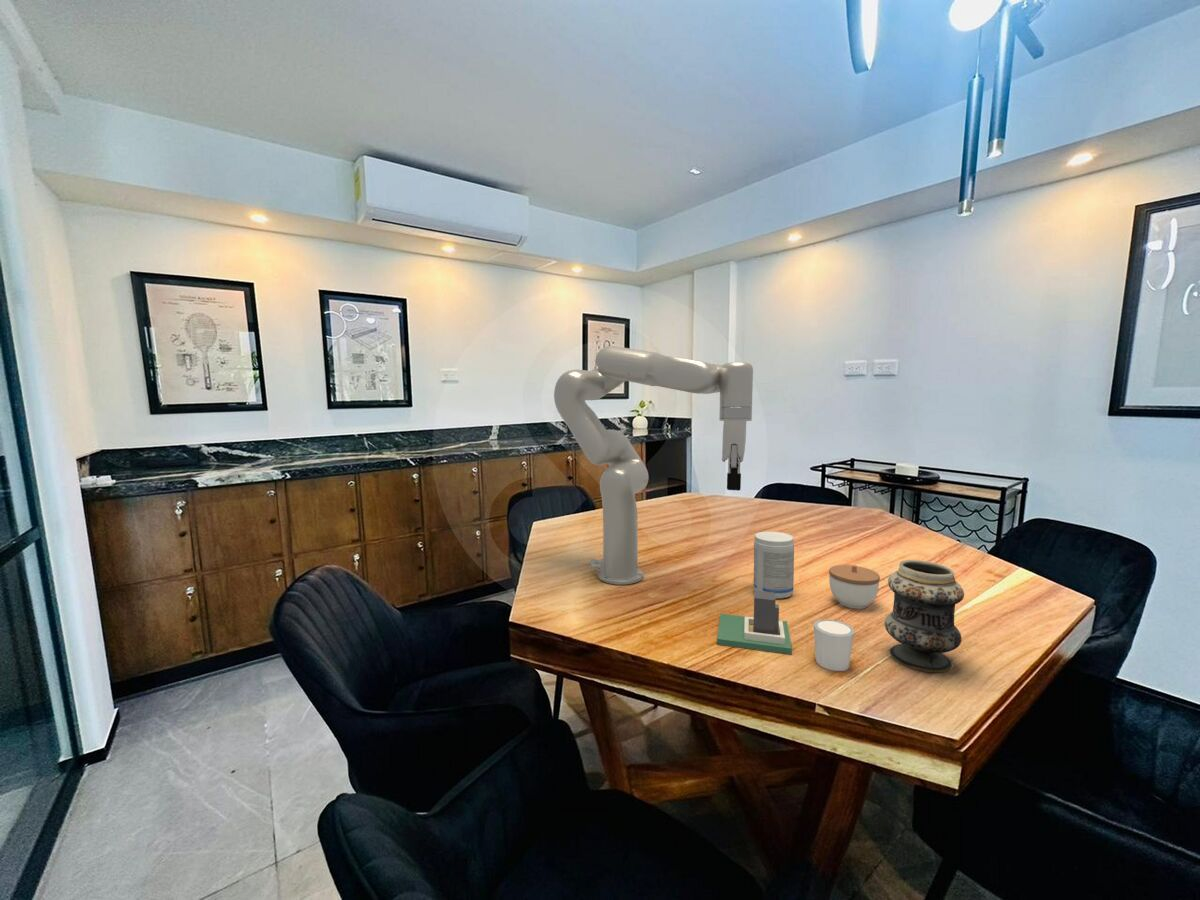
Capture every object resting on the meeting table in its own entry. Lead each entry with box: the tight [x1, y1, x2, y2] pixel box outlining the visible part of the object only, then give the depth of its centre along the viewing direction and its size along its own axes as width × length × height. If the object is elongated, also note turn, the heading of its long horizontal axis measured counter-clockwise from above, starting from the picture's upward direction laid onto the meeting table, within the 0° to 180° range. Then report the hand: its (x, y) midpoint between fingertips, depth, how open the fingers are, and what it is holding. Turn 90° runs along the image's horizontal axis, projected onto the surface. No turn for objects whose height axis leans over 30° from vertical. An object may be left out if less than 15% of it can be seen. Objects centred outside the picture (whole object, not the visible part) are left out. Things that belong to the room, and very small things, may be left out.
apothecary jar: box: [883, 559, 965, 674], centre depth 91 cm, size 12×12×18 cm
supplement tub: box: [753, 531, 795, 600], centre depth 123 cm, size 10×10×15 cm
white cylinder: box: [813, 618, 855, 672], centre depth 90 cm, size 7×7×7 cm
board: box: [716, 613, 793, 655], centre depth 101 cm, size 14×12×3 cm
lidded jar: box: [828, 564, 881, 610], centre depth 116 cm, size 11×11×9 cm
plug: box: [753, 590, 780, 635], centre depth 99 cm, size 5×4×8 cm
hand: (733, 489), depth 119 cm, fingers closed
